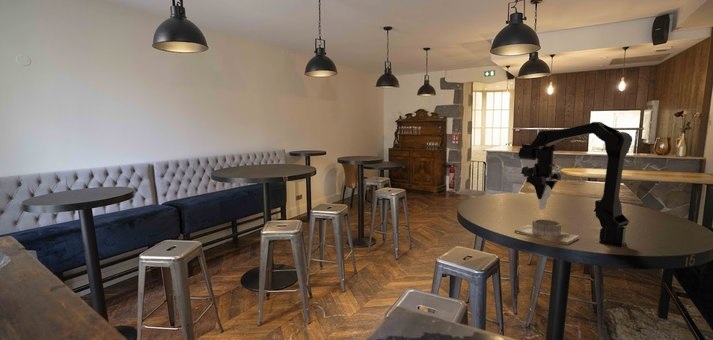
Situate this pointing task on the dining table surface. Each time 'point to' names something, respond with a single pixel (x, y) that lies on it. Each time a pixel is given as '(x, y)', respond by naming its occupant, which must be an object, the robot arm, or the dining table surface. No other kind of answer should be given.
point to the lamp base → (556, 239)
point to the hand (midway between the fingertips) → (542, 198)
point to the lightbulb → (544, 198)
